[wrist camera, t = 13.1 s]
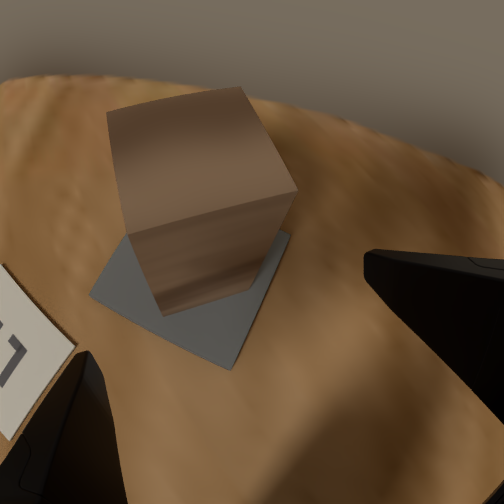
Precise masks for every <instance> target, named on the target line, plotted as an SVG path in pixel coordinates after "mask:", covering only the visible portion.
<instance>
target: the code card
mask: <svg viewBox="0 0 504 504" xmlns="http://www.w3.org/2000/svg"><path fill="white" fill-rule="evenodd" d="M75 348H76V346H75V345H73V344H72V343H71V342H70V341H69V340H68V339H67V338H66V337H65V336H64V335H63V334H62V333H61V332H60V331H59V330H58V329H57V328H56V327H55V326H54V325H53V323H52V322H51V321H50V320H49V319H48V318H47V317H46V316H45V315H44V314H43V313H42V312H41V311H40V310H39V309H38V307H37V306H36V305H35V304H34V303H33V302H32V301H31V300H30V298H29V297H28V296H27V295H26V294H25V293H24V292H23V290H22V289H21V288H20V287H19V286H18V284H17V283H16V282H15V281H14V280H13V278H12V277H11V276H10V275H9V273H8V272H7V271H6V270H5V268H4V267H3V266H2V265H1V264H0V431H1V432H2V433H3V434H4V436H5V437H6V438H7V439H8V440H9V441H11V440H12V438H13V437H14V435H15V433H16V432H17V430H18V429H19V427H20V426H21V424H22V423H23V421H24V420H25V418H26V417H27V415H28V414H29V412H30V411H31V409H32V408H33V406H34V405H35V403H36V402H37V400H38V399H39V397H40V396H41V394H42V393H43V392H44V390H45V389H46V387H47V386H48V384H49V383H50V382H51V380H52V379H53V377H54V376H55V375H56V373H57V372H58V371H59V369H60V368H61V366H62V365H63V364H64V362H65V361H66V360H67V358H68V357H69V356H70V354H71V353H72V352H73V350H74V349H75Z"/></svg>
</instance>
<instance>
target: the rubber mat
mask: <svg viewBox="0 0 504 504" xmlns="http://www.w3.org/2000/svg"><path fill="white" fill-rule="evenodd" d="M290 236H291V235H290V234H288V233H286V232H284V231H282V230H280V229H279V231H278V233H277V235H276V237H275V239H274V241H273V243H272V245H271V247H270V249H269V251H268V253H267V255H266V257H265V259H264V261H263V263H262V265H261V267H260V269H259V271H258V273H257V275H256V277H255V278H254V280H253V282H252V284H251V286H250V288H249V290H247V291H244V292H241V293H238V294H235V295H232V296H229V297H225V298H222V299H219V300H216V301H213V302H210V303H207V304H203V305H200V306H197V307H194V308H191V309H187V310H184V311H181V312H178V313H174V314H171V315H168V316H165V317H163V316H162V314H161V312H160V310H159V307H158V305H157V303H156V301H155V299H154V297H153V294H152V292H151V290H150V288H149V285H148V283H147V281H146V279H145V276H144V274H143V272H142V269H141V267H140V265H139V262H138V260H137V257H136V255H135V253H134V250H133V248H132V245H131V243H130V240H129V238H128V235H127V233H126V235H125V236H124V238H123V239H122V241H121V242H120V244H119V245H118V247H117V249H116V250H115V252H114V253H113V255H112V257H111V258H110V260H109V261H108V263H107V265H106V266H105V268H104V270H103V271H102V273H101V275H100V276H99V278H98V280H97V281H96V283H95V285H94V286H93V288H92V290H91V291H90V293H89V296H90V297H91V298H93V299H95V300H96V301H98V302H99V303H101V304H103V305H104V306H106V307H108V308H110V309H111V310H113V311H115V312H116V313H118V314H120V315H122V316H123V317H125V318H127V319H129V320H130V321H132V322H134V323H136V324H138V325H139V326H141V327H143V328H145V329H147V330H149V331H150V332H152V333H154V334H156V335H158V336H160V337H162V338H164V339H165V340H167V341H169V342H171V343H173V344H175V345H177V346H179V347H181V348H183V349H185V350H187V351H189V352H191V353H193V354H195V355H197V356H199V357H201V358H204V359H206V360H208V361H210V362H212V363H214V364H216V365H218V366H221V367H223V368H225V369H227V370H229V371H230V370H231V369H232V366H233V364H234V362H235V360H236V358H237V356H238V353H239V351H240V349H241V347H242V345H243V342H244V340H245V338H246V336H247V334H248V331H249V329H250V327H251V325H252V322H253V320H254V318H255V316H256V314H257V311H258V309H259V307H260V305H261V302H262V300H263V298H264V296H265V293H266V291H267V289H268V286H269V284H270V282H271V280H272V277H273V275H274V273H275V270H276V268H277V266H278V264H279V261H280V259H281V257H282V254H283V252H284V250H285V247H286V245H287V243H288V240H289V238H290Z"/></svg>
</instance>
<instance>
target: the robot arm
mask: <svg viewBox="0 0 504 504" xmlns="http://www.w3.org/2000/svg"><path fill="white" fill-rule="evenodd" d="M364 278H365V280H366V282H367V283H368V284H369V285H370V286H371V287H372V289H373V290H374V291H375V292H376V293H377V294H378V296H379V297H380V298H381V299H382V300H383V301H384V302H385V304H386V305H387V306H388V307H389V308H390V309H391V310H392V311H393V312H394V313H395V314H396V315H397V316H398V317H399V318H400V319H401V320H402V321H403V322H404V323H405V324H406V325H407V326H408V327H409V328H410V329H411V330H412V331H413V332H414V333H415V334H416V335H417V336H419V337H420V338H421V339H422V340H423V341H424V342H425V343H426V344H427V345H428V346H429V347H430V348H431V349H432V350H433V351H434V352H435V353H436V354H437V355H438V356H439V357H440V358H441V359H442V360H443V361H444V362H445V363H446V364H447V365H448V366H449V367H450V368H451V369H452V370H453V371H454V372H455V373H456V374H457V375H458V376H459V377H460V379H461V380H462V381H463V382H464V383H465V384H466V385H467V386H468V387H469V388H470V389H471V390H472V391H473V392H474V393H475V394H476V395H477V396H478V398H479V399H480V400H481V401H482V402H483V403H484V404H485V405H486V406H487V407H488V408H489V409H490V410H491V411H492V413H493V414H494V415H495V416H496V417H497V418H498V419H499V420H500V421H501V422H502V423H503V425H504V260H503V259H486V258H474V257H463V256H452V255H440V254H429V253H418V252H406V251H394V250H382V249H373V250H371V251H368V252H366V253H365V254H364ZM22 433H23V434H21V435H20V436H19V438H18V439H17V441H16V443H15V444H14V446H13V447H12V449H11V450H10V452H9V453H8V455H7V456H6V458H5V459H4V461H3V462H2V464H1V465H0V504H128V502H127V497H126V492H125V487H124V482H123V477H122V472H121V466H120V460H119V454H118V448H117V441H116V434H115V427H114V421H113V416H112V412H111V408H110V404H109V399H108V395H107V390H106V385H105V380H104V376H103V374H102V372H101V370H100V368H99V366H98V364H97V363H96V361H95V359H94V357H93V355H92V354H91V353H90V351H83V352H80V353H77V354H76V355H75V356H74V357H73V359H72V360H71V361H70V363H69V364H68V365H67V367H66V368H65V370H64V371H63V372H62V374H61V375H60V377H59V378H58V379H57V381H56V382H55V384H54V385H53V387H52V388H51V390H50V391H49V392H48V394H47V395H46V397H45V398H44V400H43V401H42V403H41V404H40V406H39V407H38V409H37V410H36V412H35V413H34V415H33V416H32V418H31V419H30V421H29V422H28V424H27V425H26V427H25V428H24V430H23V432H22ZM482 504H504V480H503V481H502V482H501V484H500V485H499V486H498V487H497V488H496V489H495V490H494V491H493V493H492V494H491V495H490V496H489V497H488V498H487V499H486V500H485V501H484V502H483V503H482Z"/></svg>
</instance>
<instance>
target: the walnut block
mask: <svg viewBox="0 0 504 504" xmlns="http://www.w3.org/2000/svg"><path fill="white" fill-rule="evenodd" d="M106 115H107V123H108V131H109V138H110V145H111V151H112V158H113V164H114V170H115V176H116V181H117V187H118V192H119V198H120V203H121V208H122V212H123V217H124V222H125V227H126V231H127V235H128V238H129V240H130V243H131V245H132V248H133V250H134V253H135V255H136V257H137V260H138V262H139V265H140V267H141V269H142V272H143V274H144V276H145V279H146V281H147V283H148V285H149V288H150V290H151V292H152V294H153V297H154V299H155V301H156V303H157V305H158V307H159V310H160V312H161V314H162V316H163V317H165V316H168V315H171V314H174V313H178V312H181V311H184V310H187V309H191V308H194V307H197V306H200V305H203V304H207V303H210V302H213V301H216V300H219V299H222V298H225V297H229V296H232V295H235V294H238V293H241V292H244V291H247V290H249V288H250V286H251V284H252V282H253V280H254V278H255V277H256V275H257V273H258V271H259V269H260V267H261V265H262V263H263V261H264V259H265V257H266V255H267V253H268V251H269V249H270V247H271V245H272V243H273V241H274V239H275V237H276V235H277V233H278V231H279V229H280V227H281V225H282V223H283V221H284V219H285V217H286V215H287V213H288V210H289V208H290V206H291V204H292V202H293V200H294V198H295V196H296V194H297V192H298V188H297V186H296V185H295V183H294V181H293V179H292V177H291V175H290V173H289V171H288V170H287V168H286V166H285V164H284V162H283V160H282V158H281V157H280V155H279V153H278V151H277V149H276V147H275V146H274V144H273V142H272V140H271V138H270V137H269V135H268V133H267V131H266V130H265V128H264V126H263V124H262V123H261V121H260V119H259V117H258V116H257V114H256V112H255V110H254V109H253V107H252V105H251V104H250V102H249V100H248V98H247V97H246V95H245V93H244V92H243V90H242V88H241V87H233V88H225V89H217V90H210V91H204V92H198V93H192V94H186V95H180V96H175V97H170V98H165V99H160V100H155V101H150V102H146V103H142V104H137V105H133V106H129V107H125V108H121V109H117V110H113V111H109V112H106Z"/></svg>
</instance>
